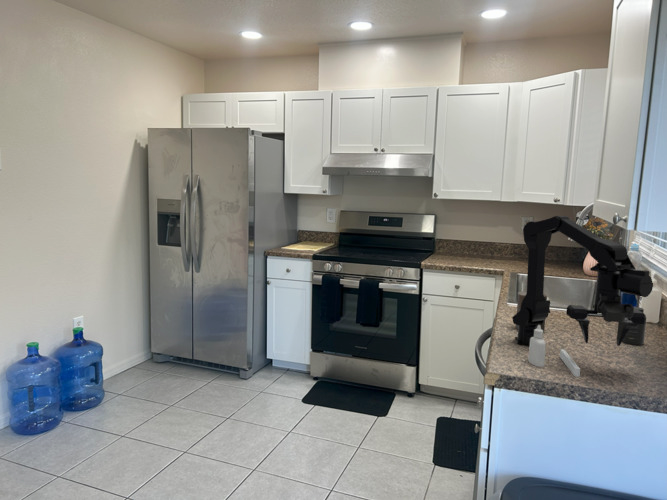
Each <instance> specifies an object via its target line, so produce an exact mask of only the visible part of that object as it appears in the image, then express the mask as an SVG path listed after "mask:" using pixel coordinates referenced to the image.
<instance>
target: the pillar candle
mask: <svg viewBox="0 0 667 500" xmlns="http://www.w3.org/2000/svg"><path fill="white" fill-rule="evenodd" d="M526 293H527V290H523V291H519V292H517V303H516V304H517V305H516V314H517V313H518V312H519V311H520V308H521V302H522V300H523V299H524V297H525V295H526ZM543 295H544V297H545V299H546V300H548V299H547V298H548V295H547V294H546V293H544V292H543ZM545 324H546V319H545V320H544V323H543V324H542V325H541V324H540V326H541V329H542V330H543V334H544V333H545ZM537 327H538V325H537ZM515 329H516V331H518V325H516V324H515Z"/></svg>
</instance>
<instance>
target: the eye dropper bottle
mask: <svg viewBox="0 0 667 500" xmlns="http://www.w3.org/2000/svg"><path fill="white" fill-rule="evenodd" d="M546 345H547V343H546V340H545V339H544V333H543V330H542V329H541V326H540V325H538V327H537V329H535V330H534V337H531V338H530V345H528V346H529V348H528V359H527V360H528V362H529V364H531V365H533V366H535V367H541V368H543V367H545V361H546Z"/></svg>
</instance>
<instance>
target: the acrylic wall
mask: <svg viewBox="0 0 667 500" xmlns="http://www.w3.org/2000/svg"><path fill="white" fill-rule="evenodd" d="M559 358H560V359H561V361H562V362H563V363H564V365H565V366H566V368H567V369H568V370H569V371H570V373H571V374H572V375H573V377H576V378H580V374H581V368H580V367H579V365H577V363H576V362H575V361H574V359H573V358H572V356H570V355H569V354H568V352H567V350H566V349H562V348H561V349H560V351H559Z"/></svg>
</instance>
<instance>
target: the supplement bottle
mask: <svg viewBox="0 0 667 500" xmlns="http://www.w3.org/2000/svg"><path fill="white" fill-rule="evenodd" d="M634 309H637V310H639V311H641V312H642V313H644V308H643V307H639V306H634ZM646 326H647V323H646V324H638V326H634V327H632V328H631V329H630V330H629V331H628V332H627V334H626V335H625V337H624V339H623V341H622V343H624V344H627V345H631V346H642V345H644V344H645V338H646V336H645V335H646Z"/></svg>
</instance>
